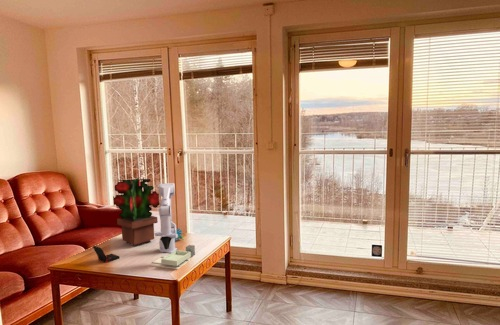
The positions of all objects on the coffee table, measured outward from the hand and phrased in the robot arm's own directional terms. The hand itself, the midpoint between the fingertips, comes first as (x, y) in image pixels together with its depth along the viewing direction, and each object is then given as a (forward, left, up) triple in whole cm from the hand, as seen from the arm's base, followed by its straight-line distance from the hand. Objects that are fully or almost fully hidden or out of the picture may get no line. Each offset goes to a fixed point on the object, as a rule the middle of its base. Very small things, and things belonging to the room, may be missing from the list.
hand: (166, 248), depth 197 cm
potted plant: (-42, +26, -9) cm, 50 cm away
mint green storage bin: (+6, 0, -8) cm, 11 cm away
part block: (+7, +14, -8) cm, 18 cm away
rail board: (+2, 0, -8) cm, 9 cm away
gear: (-18, +38, -9) cm, 44 cm away
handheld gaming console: (-38, -8, -9) cm, 40 cm away
